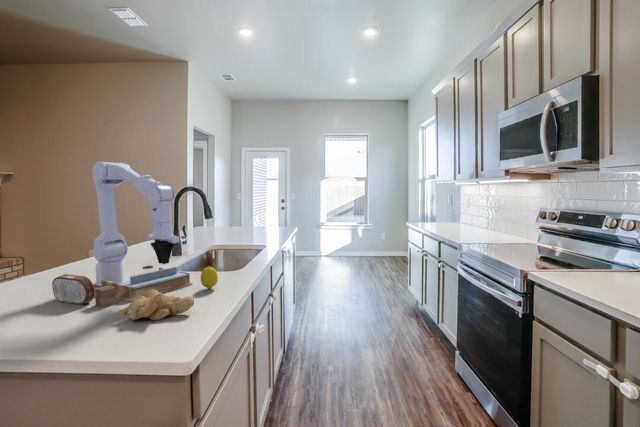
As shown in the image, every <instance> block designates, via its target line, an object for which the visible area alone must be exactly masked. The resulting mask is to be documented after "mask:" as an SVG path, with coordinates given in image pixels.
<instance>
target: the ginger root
mask: <svg viewBox="0 0 640 427" xmlns="http://www.w3.org/2000/svg"><path fill="white" fill-rule="evenodd" d="M194 305H195V298H193V297H192V296H190V295H188V296H185V297H183V298H181V297H180V296H175V295H167V294H164V293H159V292H158V291H157V290H154V289H150V290H148V291H147V292H145V293H144V295H143V296H137V297H135V298H133V299H132V300H131V303H129V304H128V306H127V307H124V308H121V309H119V310H118V311H117V313H118V314H119V315H121V316H122V315H123V316H125V315H127V316H128V317H129V318H130V319H131V320H132V321H136V320H139V319H141V318H146V319H150V320H151V321H160V320H162V319H163V318H166V317H167V316H174V315H180V314H183V313H184V312H188V311H189V310H190V309H191V308H192V307H193V306H194Z"/></svg>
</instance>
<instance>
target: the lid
mask: <svg viewBox="0 0 640 427" xmlns="http://www.w3.org/2000/svg"><path fill="white" fill-rule="evenodd" d="M177 271H178V270H177V266H172V267H169V268H165V269H162V270H159V269H158V270H153V271H150V272H145V273H139V274H136V275H135V274H134V275H130V276H129V277H130V278H129V279H130V280H127V281H128V282H123V283H119V284H123V285H127V286H131V287H132V289H137V288H141V287H145V286H149V285H153V284H157V283H161V282H165V281H169V280H173V279H178V278H182V277H186V276H187V274H184V273H179V272H177Z"/></svg>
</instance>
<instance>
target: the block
mask: <svg viewBox="0 0 640 427" xmlns="http://www.w3.org/2000/svg"><path fill="white" fill-rule="evenodd" d="M94 289H95V295H94V298H95V306H97V307H100V308H106V307H109V306H113V305H116V304H117V298H116V288H115V287H112V286H105V287H101V286H100V287H98V288H94Z"/></svg>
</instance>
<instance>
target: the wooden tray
mask: <svg viewBox="0 0 640 427" xmlns="http://www.w3.org/2000/svg"><path fill="white" fill-rule="evenodd" d="M162 269H166V268H163V267H158V270H162ZM176 271H177V272H179V273H184V274H187V276H186V277H182V278H178V279H173V280H169V281H165V282H161V283H157V284H153V285H149V286H145V287H141V288H137V289H132V287H131V286H127V285H123V284H119V283H115V282H111V281H107V280H101V286H100V288H101V287H105V286H112V287H115V288H116V299H120V300H124V301H127V302H131V303H132V301H131V300H132V299H133V298H135V297H137V296H143V295H144V293H145V292H147V291H148V290H150V289H154V290H157V291H158V292H159V293H162V294H164V293H167V292H171V291H174V290H178V289H182V288H185V287H188V286H191V285H193V282H191V280H190V278H191V277H190V272H185V271H180V270H176Z"/></svg>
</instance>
